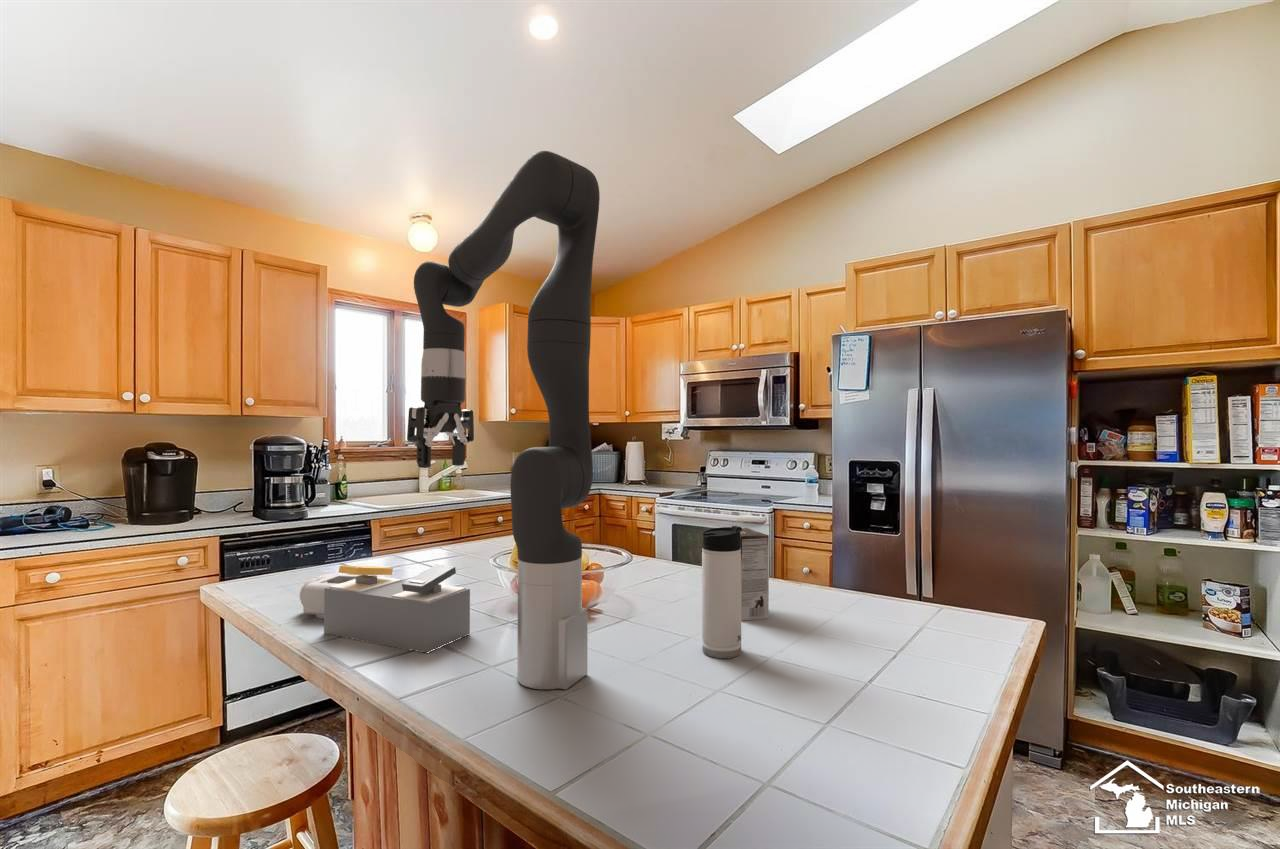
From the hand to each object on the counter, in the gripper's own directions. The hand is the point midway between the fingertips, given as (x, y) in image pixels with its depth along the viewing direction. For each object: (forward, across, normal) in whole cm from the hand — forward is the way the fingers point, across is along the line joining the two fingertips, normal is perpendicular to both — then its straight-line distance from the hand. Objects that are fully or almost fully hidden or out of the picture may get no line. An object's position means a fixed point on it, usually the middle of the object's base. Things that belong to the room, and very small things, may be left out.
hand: (441, 466), depth 106 cm
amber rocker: (+19, -4, +14) cm, 24 cm away
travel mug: (+29, +11, -49) cm, 58 cm away
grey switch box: (+30, -4, +6) cm, 30 cm away
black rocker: (+19, -4, -1) cm, 19 cm away
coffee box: (+29, +33, -47) cm, 64 cm away
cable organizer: (+30, +2, +28) cm, 41 cm away
